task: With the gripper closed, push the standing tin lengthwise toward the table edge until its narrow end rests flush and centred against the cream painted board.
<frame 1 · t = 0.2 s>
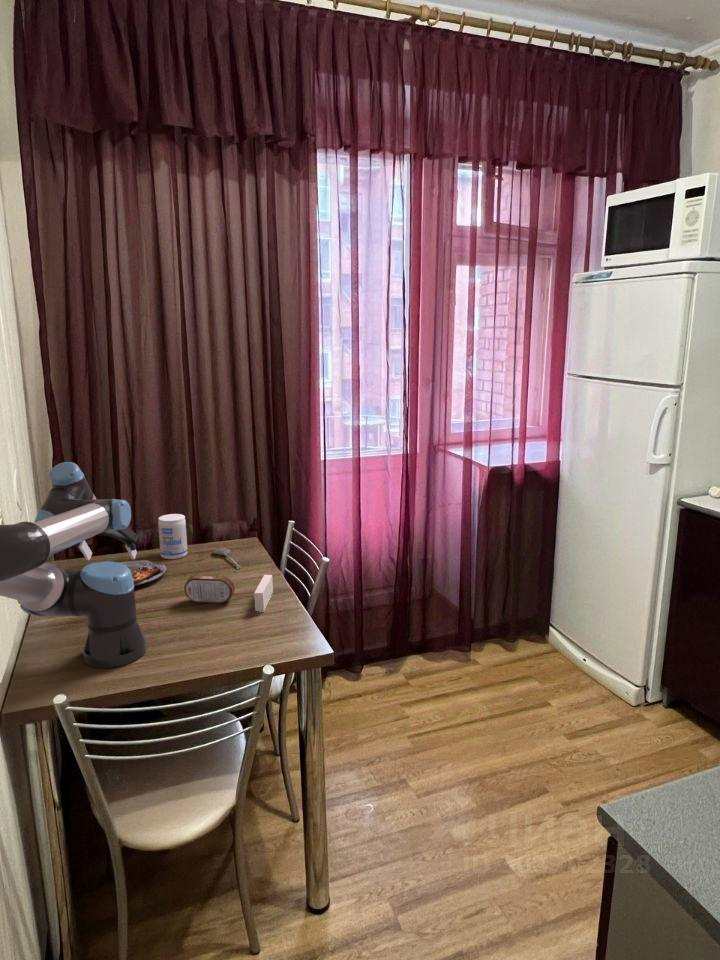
hand: (112, 556, 187), 15 cm above the table, tool tilted 35°, fingers open, 13 cm apart
supplement tub: (174, 556, 233), on the table
board: (264, 602, 191), on the table
tin: (210, 602, 192), on the table
soupspoon: (228, 561, 227), on the table
food plate: (128, 579, 212), on the table
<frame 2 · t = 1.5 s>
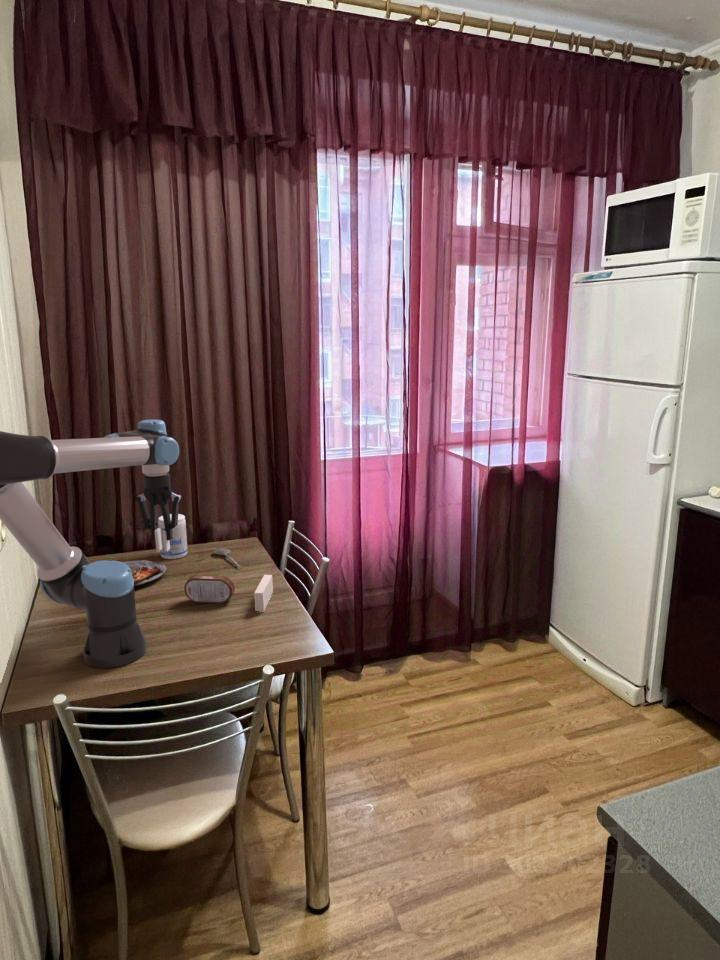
hand: (163, 550, 189), 16 cm above the table, tool pointing down, fingers closed
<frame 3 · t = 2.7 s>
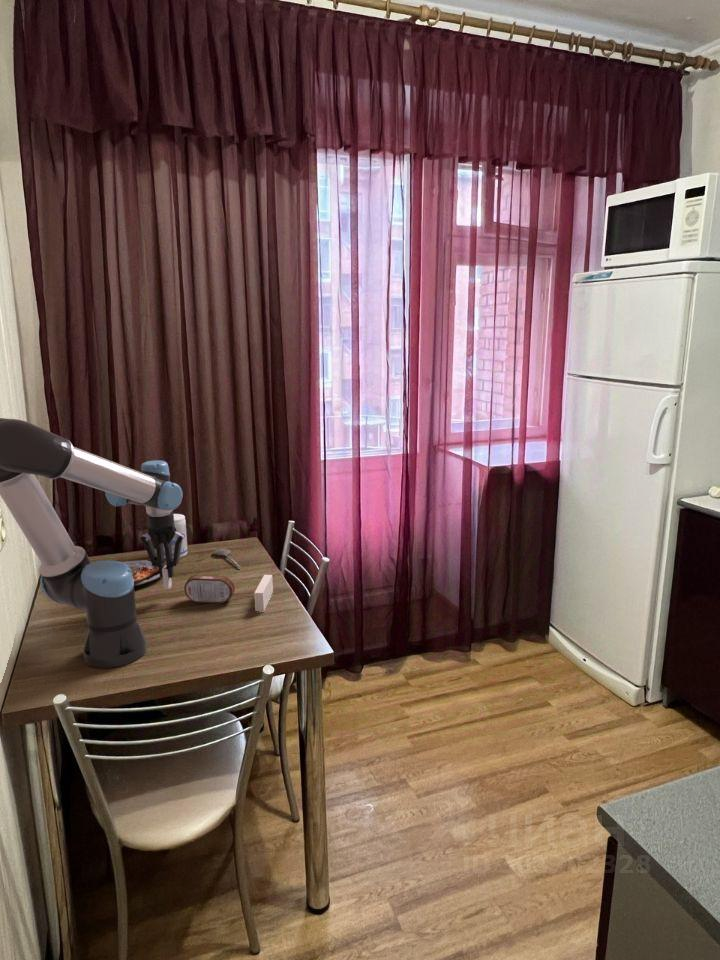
hand: (168, 587, 192), 4 cm above the table, tool pointing down, fingers closed
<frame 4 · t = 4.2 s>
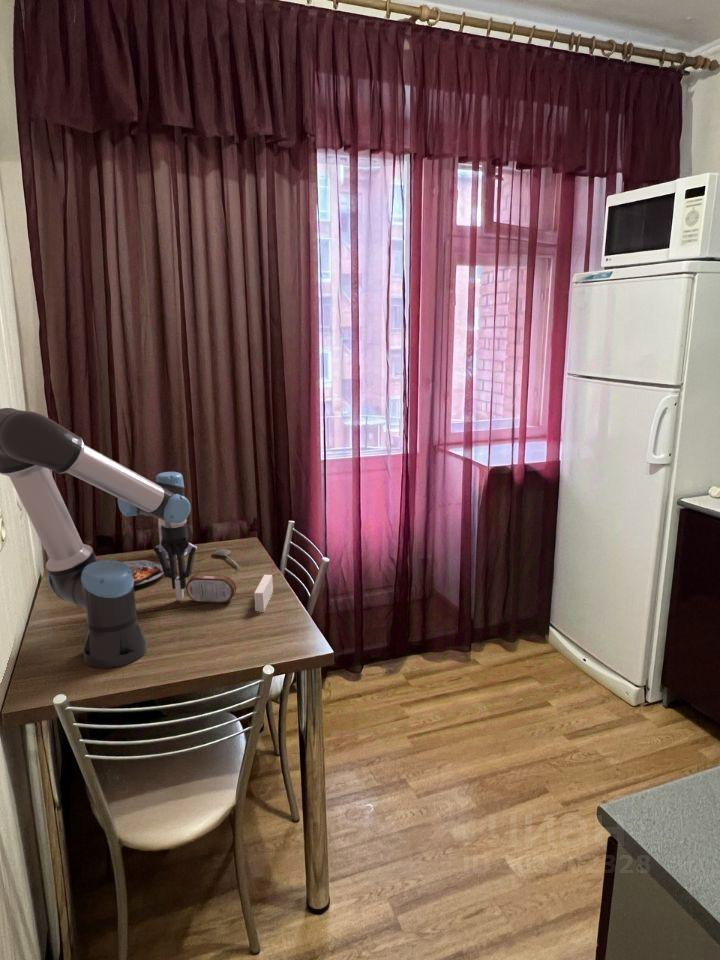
hand: (180, 598, 193), 1 cm above the table, tool pointing down, fingers closed
tin: (211, 602, 192), on the table, touching gripper
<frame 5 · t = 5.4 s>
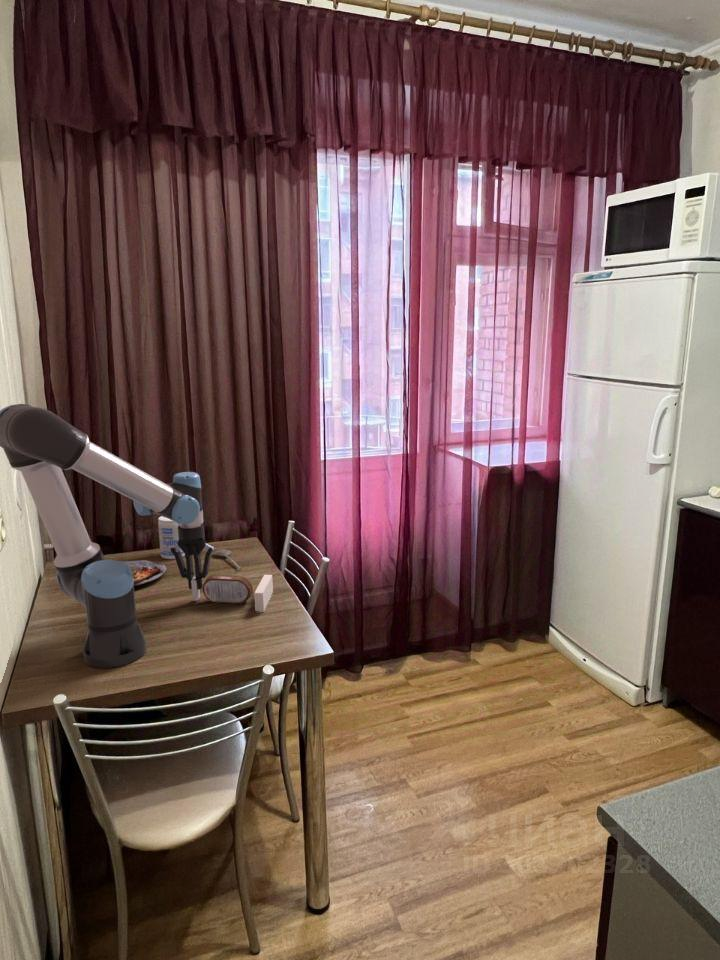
hand: (196, 598, 192), 1 cm above the table, tool pointing down, fingers closed
tin: (228, 602, 192), on the table, touching gripper
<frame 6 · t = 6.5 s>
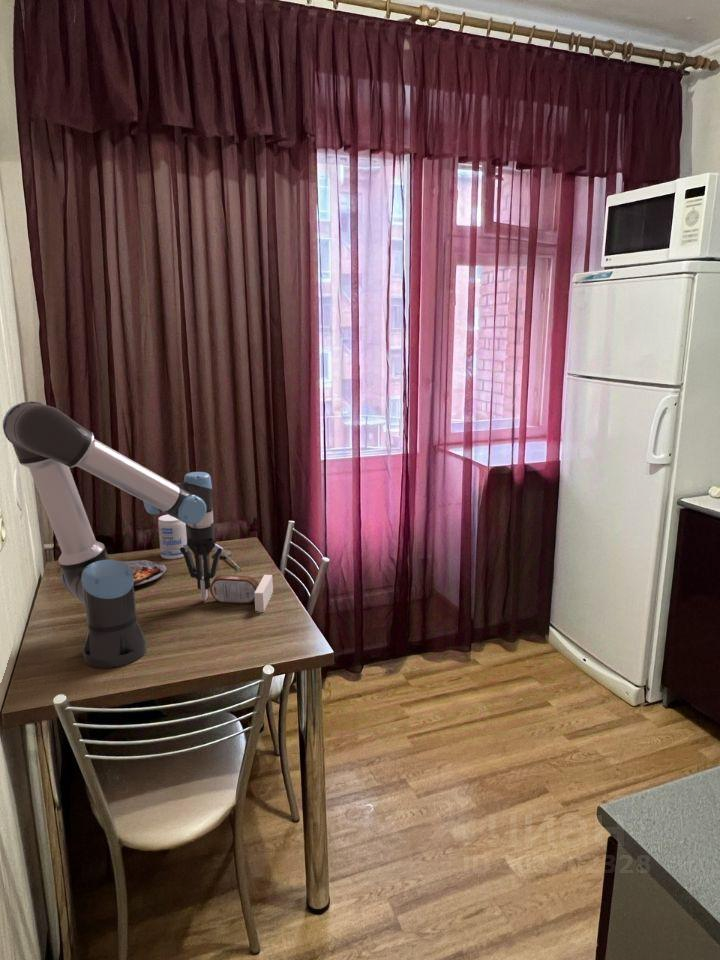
hand: (204, 598, 192), 1 cm above the table, tool pointing down, fingers closed
tin: (235, 602, 191), on the table, touching board, gripper
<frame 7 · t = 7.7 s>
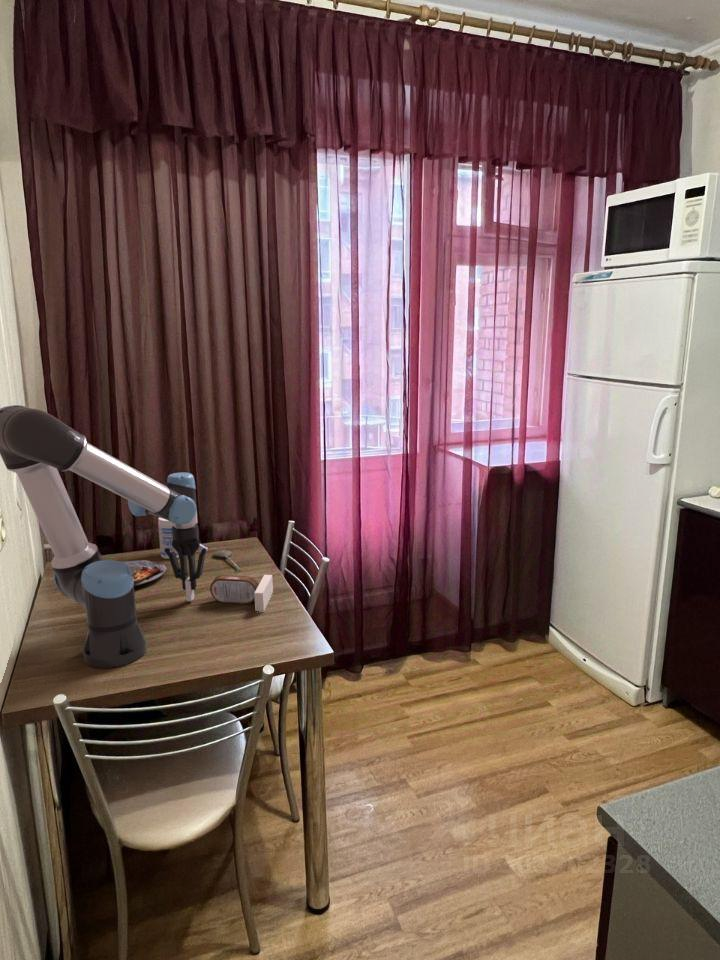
hand: (190, 599, 192), 1 cm above the table, tool pointing down, fingers closed
tin: (235, 603, 192), on the table
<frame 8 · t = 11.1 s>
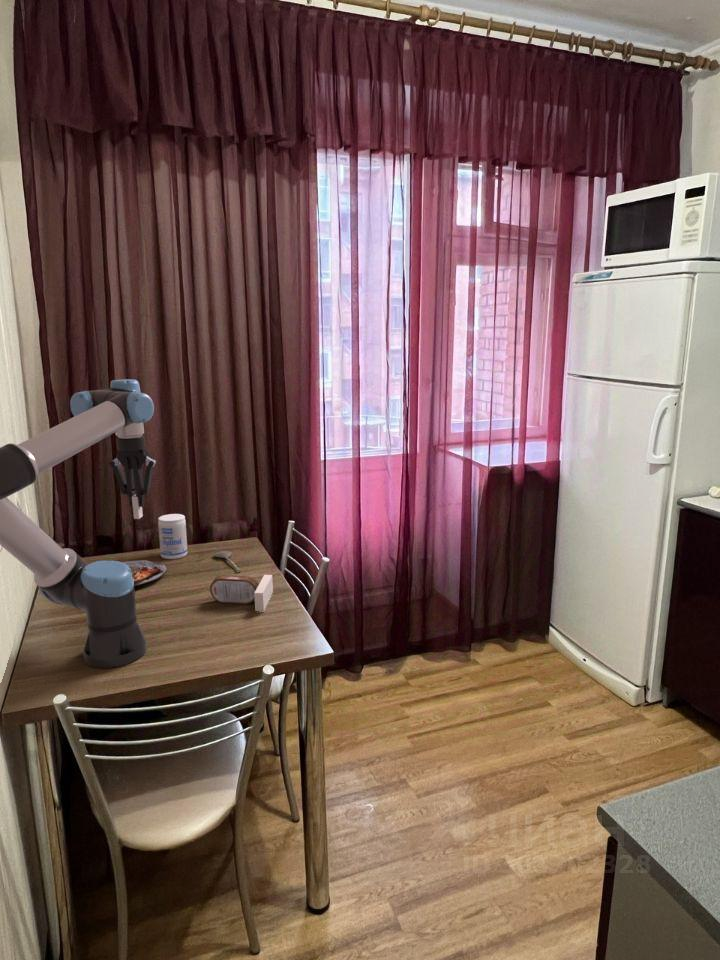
hand: (138, 517, 181), 28 cm above the table, tool pointing down, fingers closed
soupspoon: (228, 564, 224), on the table
everything else where it was.
at the end: tin 0.4 cm from the target spot on the table beside the board, on the table; tin tilted 0° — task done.
